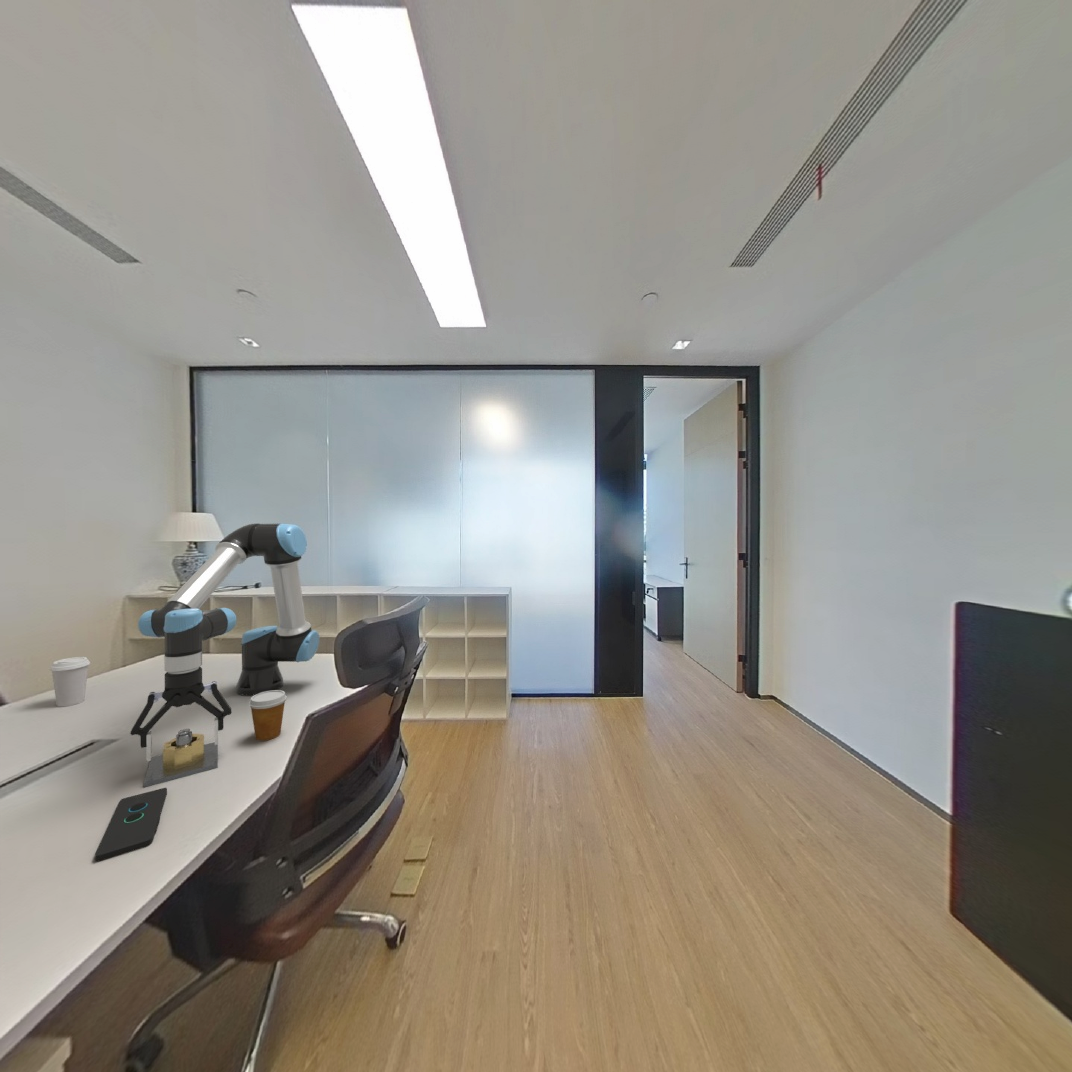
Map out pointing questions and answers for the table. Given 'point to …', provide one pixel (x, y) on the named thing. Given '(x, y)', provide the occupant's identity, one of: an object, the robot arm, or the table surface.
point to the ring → (183, 753)
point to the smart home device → (132, 824)
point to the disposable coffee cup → (267, 713)
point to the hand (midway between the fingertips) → (184, 750)
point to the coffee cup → (70, 680)
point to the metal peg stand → (161, 775)
